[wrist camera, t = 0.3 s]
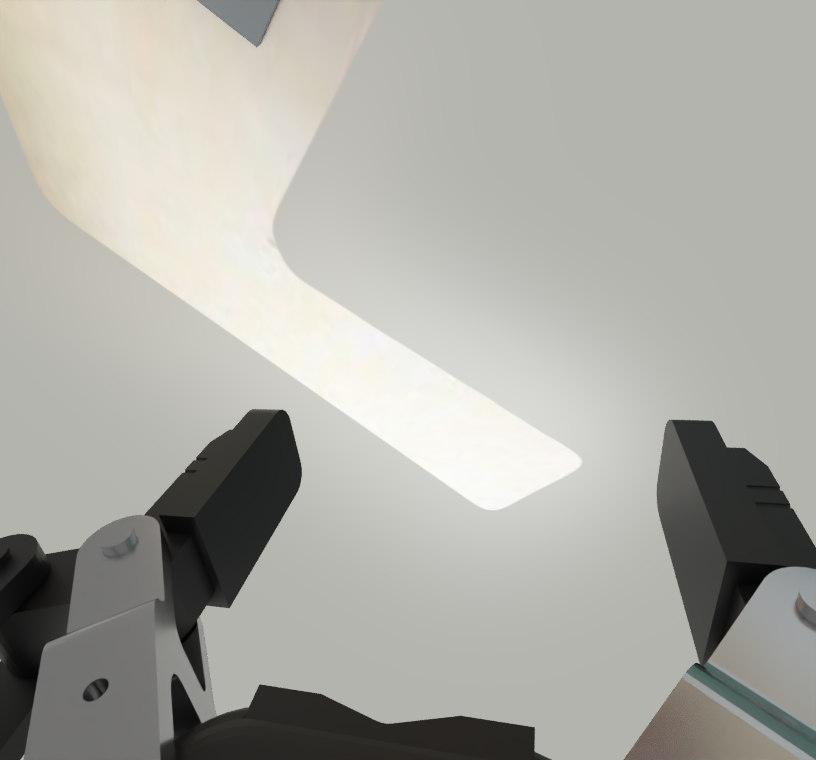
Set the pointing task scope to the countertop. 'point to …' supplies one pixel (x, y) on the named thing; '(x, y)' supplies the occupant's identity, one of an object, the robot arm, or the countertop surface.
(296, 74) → the countertop surface
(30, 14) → the countertop surface
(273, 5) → the mat
